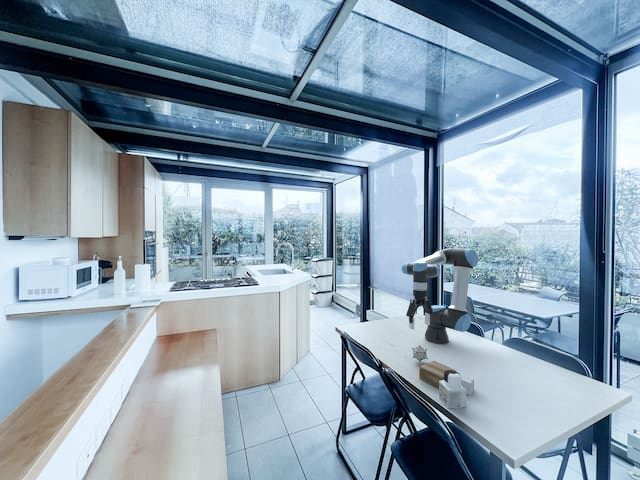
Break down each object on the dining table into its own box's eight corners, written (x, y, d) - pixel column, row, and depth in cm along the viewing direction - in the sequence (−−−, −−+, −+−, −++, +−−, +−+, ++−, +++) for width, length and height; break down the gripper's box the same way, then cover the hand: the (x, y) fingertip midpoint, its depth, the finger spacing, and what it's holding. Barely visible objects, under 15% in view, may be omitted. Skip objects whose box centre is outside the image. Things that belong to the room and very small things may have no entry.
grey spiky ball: (429, 366, 143) (429, 348, 143) (413, 365, 145) (413, 347, 145) (426, 359, 152) (426, 342, 152) (410, 357, 153) (410, 341, 153)
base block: (434, 372, 137) (434, 360, 137) (456, 382, 127) (456, 370, 127) (419, 378, 131) (419, 366, 131) (441, 390, 121) (441, 377, 121)
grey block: (459, 385, 125) (459, 373, 125) (474, 390, 121) (474, 377, 120) (456, 391, 120) (456, 378, 120) (470, 396, 116) (470, 383, 116)
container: (438, 397, 115) (438, 368, 115) (455, 396, 116) (455, 367, 116) (448, 409, 108) (448, 377, 107) (466, 408, 108) (466, 376, 108)
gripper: (427, 286, 158) (427, 321, 158) (399, 290, 144) (399, 328, 145) (439, 288, 151) (439, 324, 151) (410, 292, 138) (410, 332, 138)
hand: (419, 326), depth 148 cm, fingers open, 13 cm apart
